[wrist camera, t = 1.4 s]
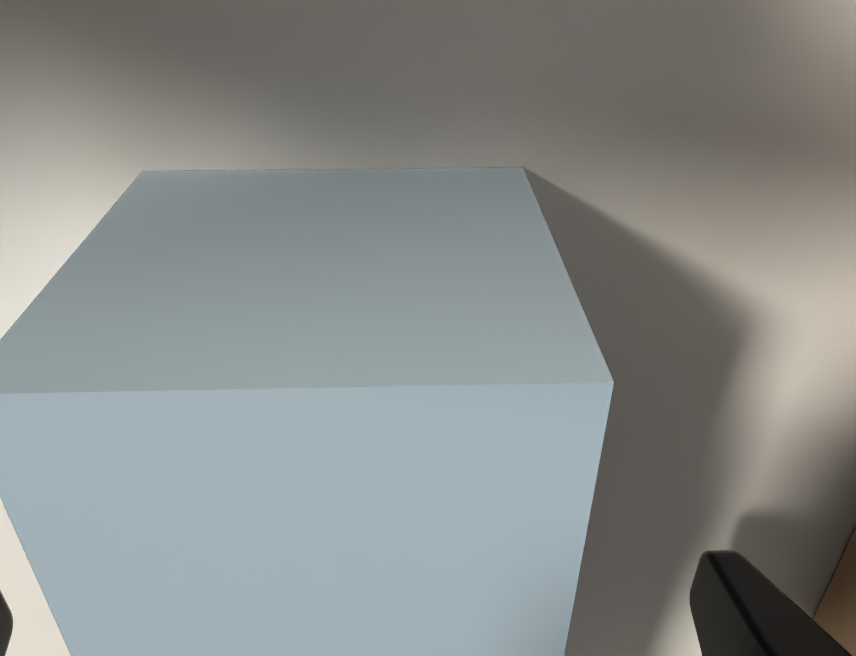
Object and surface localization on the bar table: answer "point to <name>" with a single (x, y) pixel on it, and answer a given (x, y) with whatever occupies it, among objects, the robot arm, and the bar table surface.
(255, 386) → the light blue rectangular block
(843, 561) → the jig
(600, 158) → the bar table surface
